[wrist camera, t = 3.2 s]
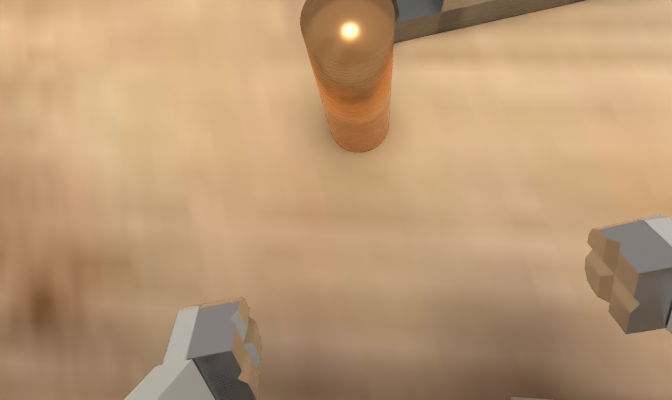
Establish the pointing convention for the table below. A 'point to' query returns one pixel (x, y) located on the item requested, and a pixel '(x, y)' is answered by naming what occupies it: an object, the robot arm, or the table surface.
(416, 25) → the metal clamp fixture
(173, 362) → the robot arm
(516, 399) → the disc drive
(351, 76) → the copper pin
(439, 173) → the table surface
